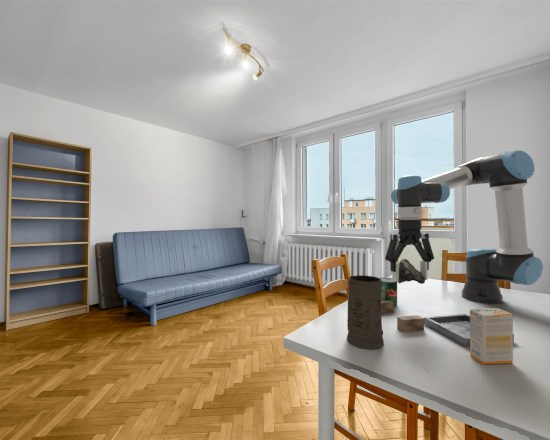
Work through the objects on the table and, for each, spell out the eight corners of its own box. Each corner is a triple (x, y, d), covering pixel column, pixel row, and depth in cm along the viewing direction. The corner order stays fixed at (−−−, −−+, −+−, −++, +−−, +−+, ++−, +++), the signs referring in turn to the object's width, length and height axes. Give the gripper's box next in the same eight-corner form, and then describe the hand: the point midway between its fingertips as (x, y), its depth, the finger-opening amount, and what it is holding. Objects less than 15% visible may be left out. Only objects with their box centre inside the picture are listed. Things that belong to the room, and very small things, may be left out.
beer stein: (379, 354, 74) (380, 282, 75) (341, 344, 80) (343, 277, 81) (388, 337, 87) (389, 275, 88) (355, 329, 93) (356, 271, 94)
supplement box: (497, 354, 74) (497, 307, 74) (513, 364, 69) (514, 314, 69) (468, 355, 74) (468, 308, 74) (482, 364, 69) (483, 314, 69)
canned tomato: (394, 309, 111) (394, 282, 111) (375, 305, 115) (375, 280, 115) (399, 304, 117) (399, 279, 117) (380, 300, 122) (380, 276, 122)
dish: (465, 320, 98) (465, 314, 98) (513, 342, 81) (513, 334, 81) (423, 324, 95) (423, 317, 95) (465, 347, 78) (465, 338, 78)
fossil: (432, 284, 90) (417, 258, 91) (406, 296, 92) (392, 270, 93) (421, 276, 101) (408, 253, 101) (398, 286, 103) (385, 263, 103)
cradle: (389, 309, 110) (389, 300, 110) (424, 330, 90) (424, 318, 90) (371, 311, 108) (371, 301, 108) (402, 331, 89) (402, 320, 89)
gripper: (385, 219, 91) (386, 284, 91) (446, 218, 95) (446, 280, 95) (374, 219, 98) (374, 279, 99) (430, 218, 102) (430, 276, 102)
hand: (409, 279), depth 97 cm, fingers closed on fossil, 10 cm apart
